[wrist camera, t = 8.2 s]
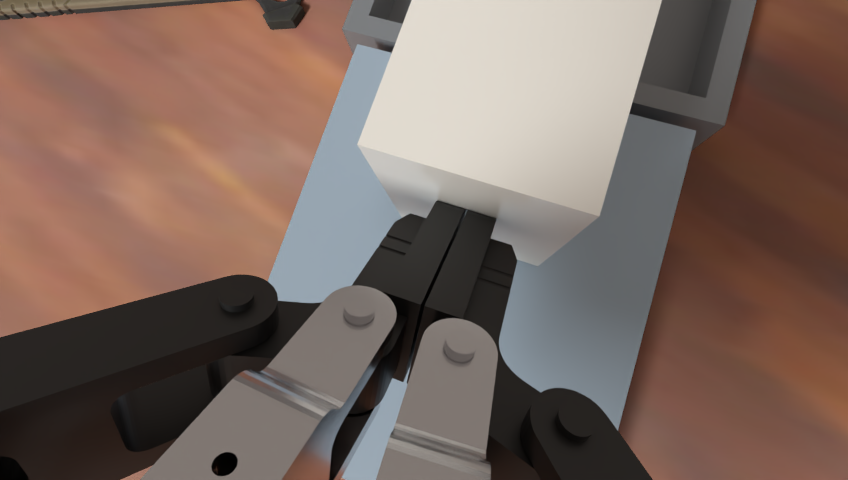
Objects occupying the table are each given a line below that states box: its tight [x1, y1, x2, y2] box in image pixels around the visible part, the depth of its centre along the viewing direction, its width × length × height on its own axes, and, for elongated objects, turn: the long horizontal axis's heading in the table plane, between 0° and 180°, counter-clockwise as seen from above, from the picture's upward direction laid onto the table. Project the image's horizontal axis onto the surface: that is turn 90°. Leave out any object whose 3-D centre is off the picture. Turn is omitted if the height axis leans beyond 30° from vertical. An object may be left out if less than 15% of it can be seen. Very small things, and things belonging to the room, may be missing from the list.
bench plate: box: [268, 44, 696, 480], centre depth 17 cm, size 12×14×3 cm
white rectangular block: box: [357, 0, 662, 266], centre depth 12 cm, size 4×10×7 cm, turn 161°
